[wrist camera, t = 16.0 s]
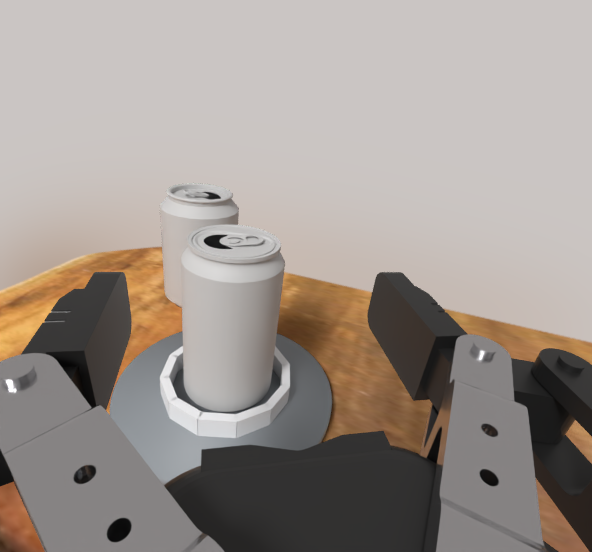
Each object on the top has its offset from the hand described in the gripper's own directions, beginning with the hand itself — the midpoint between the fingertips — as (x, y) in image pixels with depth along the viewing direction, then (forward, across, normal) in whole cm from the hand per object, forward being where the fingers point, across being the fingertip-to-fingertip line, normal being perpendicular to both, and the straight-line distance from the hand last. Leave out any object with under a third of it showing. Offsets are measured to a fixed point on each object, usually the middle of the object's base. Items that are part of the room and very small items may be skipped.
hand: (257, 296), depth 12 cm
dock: (+11, 0, +16) cm, 19 cm away
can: (+25, +3, +16) cm, 30 cm away
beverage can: (+10, 0, +15) cm, 18 cm away
